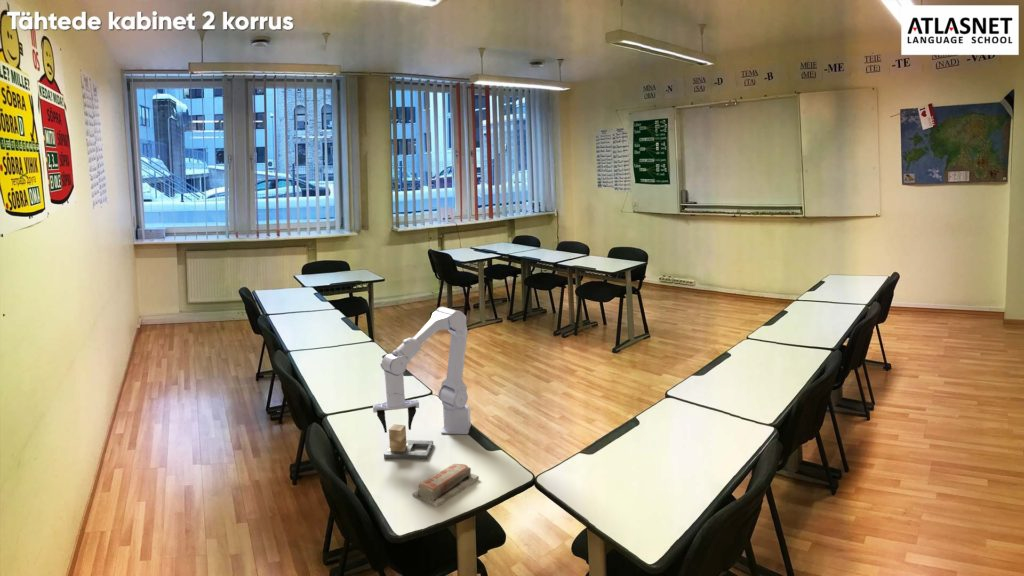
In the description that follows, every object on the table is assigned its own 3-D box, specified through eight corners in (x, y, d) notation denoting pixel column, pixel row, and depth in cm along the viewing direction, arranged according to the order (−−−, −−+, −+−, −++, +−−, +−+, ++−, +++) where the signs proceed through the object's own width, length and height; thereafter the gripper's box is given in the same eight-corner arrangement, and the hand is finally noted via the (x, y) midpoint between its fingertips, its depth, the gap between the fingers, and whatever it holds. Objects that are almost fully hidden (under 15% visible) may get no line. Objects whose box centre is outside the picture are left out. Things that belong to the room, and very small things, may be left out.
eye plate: (433, 444, 200) (433, 440, 199) (427, 459, 190) (426, 455, 189) (392, 443, 201) (392, 439, 200) (384, 458, 191) (383, 454, 191)
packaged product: (436, 493, 163) (411, 482, 169) (437, 509, 164) (412, 497, 170) (479, 466, 177) (454, 456, 183) (479, 480, 178) (454, 470, 184)
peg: (406, 444, 196) (405, 425, 195) (401, 450, 193) (400, 430, 191) (395, 443, 197) (394, 424, 196) (390, 449, 194) (388, 429, 192)
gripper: (417, 384, 196) (419, 422, 199) (371, 388, 193) (374, 427, 196) (418, 392, 190) (420, 431, 193) (372, 396, 186) (375, 436, 189)
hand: (397, 429), depth 194 cm, fingers open, 7 cm apart
